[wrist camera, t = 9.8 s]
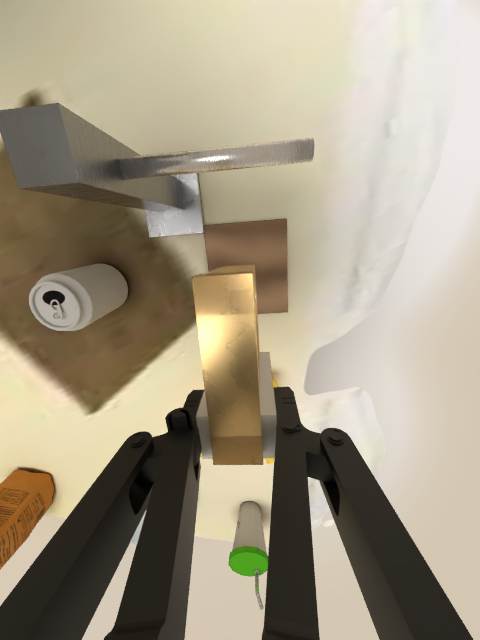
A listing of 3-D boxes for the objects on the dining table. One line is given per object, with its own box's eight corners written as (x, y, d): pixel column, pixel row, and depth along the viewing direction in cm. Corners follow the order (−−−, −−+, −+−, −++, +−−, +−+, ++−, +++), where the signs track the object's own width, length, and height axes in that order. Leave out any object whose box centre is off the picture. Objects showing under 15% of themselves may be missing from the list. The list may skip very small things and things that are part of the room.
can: (122, 259, 40) (69, 271, 28) (136, 304, 42) (93, 332, 31) (78, 266, 40) (10, 281, 29) (95, 310, 43) (38, 339, 32)
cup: (231, 496, 57) (223, 585, 42) (266, 495, 56) (269, 586, 42) (234, 519, 59) (228, 610, 45) (267, 519, 59) (271, 611, 44)
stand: (139, 160, 35) (-76, 36, 12) (283, 145, 33) (344, -30, 11) (153, 236, 38) (5, 249, 16) (284, 226, 37) (333, 223, 14)
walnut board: (204, 225, 37) (203, 225, 37) (286, 218, 36) (286, 218, 36) (214, 314, 42) (213, 316, 41) (287, 311, 41) (287, 312, 40)
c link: (223, 266, 20) (191, 277, 10) (254, 264, 19) (252, 273, 10) (232, 371, 22) (213, 464, 12) (260, 370, 22) (263, 464, 12)
